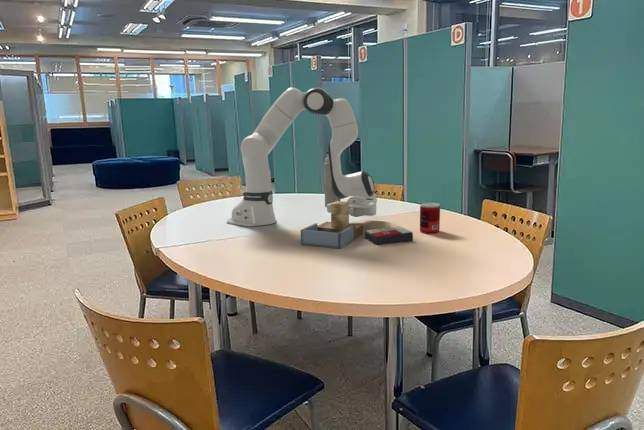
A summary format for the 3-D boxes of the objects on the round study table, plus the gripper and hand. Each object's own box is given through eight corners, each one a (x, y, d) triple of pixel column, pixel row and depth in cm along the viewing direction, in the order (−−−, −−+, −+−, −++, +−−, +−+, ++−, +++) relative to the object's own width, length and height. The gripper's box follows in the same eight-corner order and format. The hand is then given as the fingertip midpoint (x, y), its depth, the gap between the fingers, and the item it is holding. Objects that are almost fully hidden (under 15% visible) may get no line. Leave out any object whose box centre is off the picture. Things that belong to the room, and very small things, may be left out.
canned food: (441, 230, 201) (442, 203, 199) (437, 234, 194) (437, 206, 192) (422, 228, 204) (422, 202, 202) (417, 233, 197) (418, 205, 195)
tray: (300, 244, 184) (300, 230, 183) (315, 236, 195) (315, 223, 193) (340, 248, 177) (340, 233, 176) (353, 240, 188) (353, 226, 187)
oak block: (331, 226, 194) (330, 203, 192) (337, 223, 199) (337, 201, 198) (343, 227, 192) (342, 204, 190) (349, 224, 197) (348, 201, 195)
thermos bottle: (341, 204, 259) (340, 150, 253) (339, 207, 251) (338, 152, 246) (326, 204, 261) (325, 151, 255) (323, 207, 253) (322, 152, 247)
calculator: (364, 229, 191) (400, 224, 195) (365, 240, 192) (400, 234, 195) (375, 236, 180) (413, 230, 184) (376, 247, 181) (413, 241, 185)
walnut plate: (315, 236, 195) (315, 227, 194) (326, 231, 203) (326, 221, 203) (353, 240, 188) (353, 230, 187) (363, 234, 197) (362, 224, 196)
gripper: (334, 197, 214) (320, 202, 202) (379, 200, 205) (367, 206, 193) (334, 211, 216) (320, 218, 203) (379, 215, 207) (367, 221, 195)
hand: (343, 212), depth 198 cm, fingers closed
